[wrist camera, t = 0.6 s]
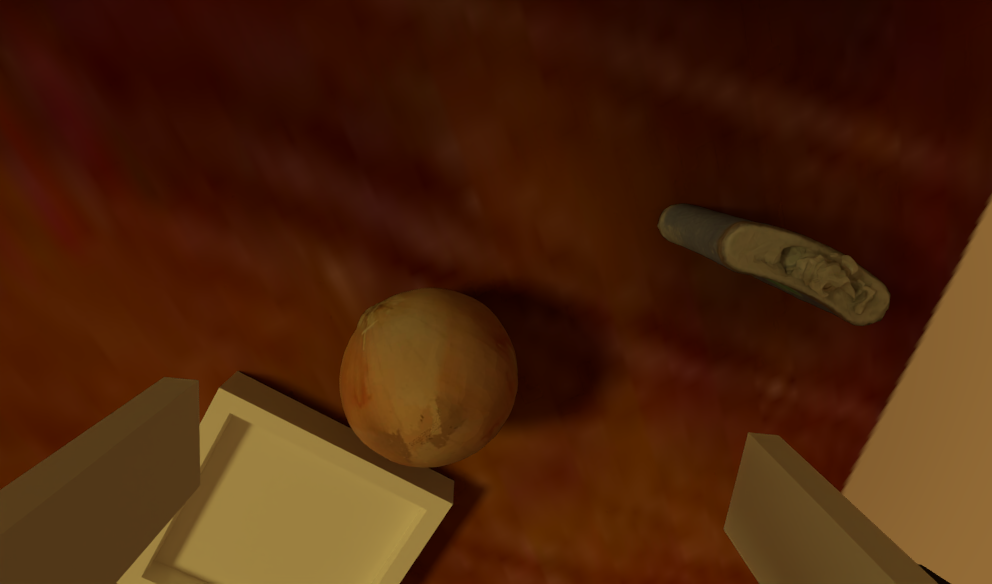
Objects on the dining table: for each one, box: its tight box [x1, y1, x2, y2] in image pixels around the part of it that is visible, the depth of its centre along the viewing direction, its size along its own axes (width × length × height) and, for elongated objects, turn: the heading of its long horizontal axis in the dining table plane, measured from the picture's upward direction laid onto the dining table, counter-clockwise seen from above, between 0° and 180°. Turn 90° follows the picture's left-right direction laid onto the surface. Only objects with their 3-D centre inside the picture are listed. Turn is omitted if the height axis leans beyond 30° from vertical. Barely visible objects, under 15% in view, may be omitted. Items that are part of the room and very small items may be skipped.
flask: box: [658, 204, 890, 326], centre depth 28 cm, size 9×3×11 cm, turn 66°
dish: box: [117, 371, 454, 584], centre depth 36 cm, size 16×16×2 cm
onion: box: [340, 288, 518, 468], centre depth 29 cm, size 10×10×10 cm
